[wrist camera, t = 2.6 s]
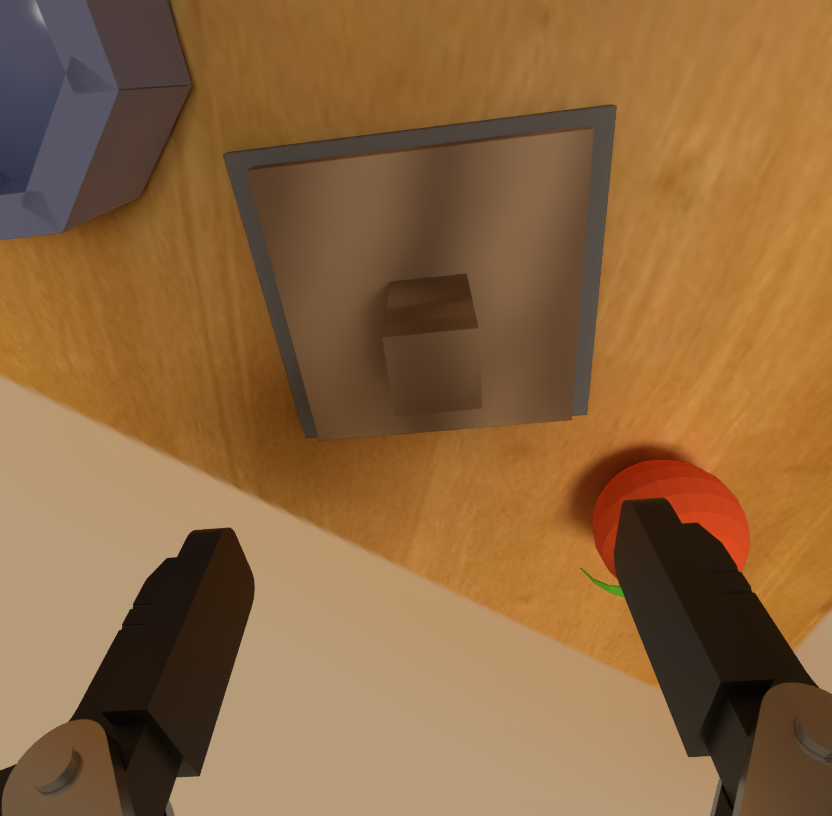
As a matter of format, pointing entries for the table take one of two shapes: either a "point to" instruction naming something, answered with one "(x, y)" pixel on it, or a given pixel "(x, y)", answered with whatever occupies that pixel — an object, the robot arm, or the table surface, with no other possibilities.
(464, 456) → the table surface
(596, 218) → the mat
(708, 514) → the clementine
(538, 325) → the lid
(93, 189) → the bowl
